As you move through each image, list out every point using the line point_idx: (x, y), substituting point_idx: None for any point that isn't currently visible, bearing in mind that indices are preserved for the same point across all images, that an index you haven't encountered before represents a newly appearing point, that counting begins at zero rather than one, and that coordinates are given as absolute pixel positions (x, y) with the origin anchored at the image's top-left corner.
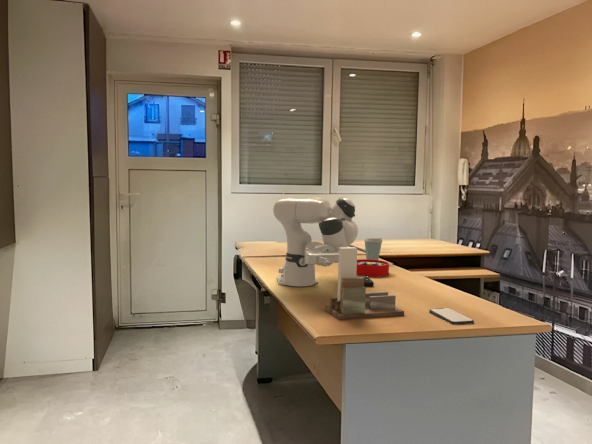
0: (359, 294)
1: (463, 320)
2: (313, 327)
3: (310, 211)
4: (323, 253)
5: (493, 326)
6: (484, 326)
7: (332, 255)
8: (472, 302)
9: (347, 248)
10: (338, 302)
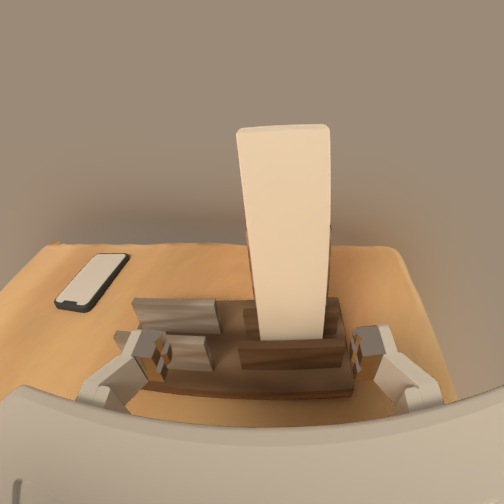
0: None
1: (108, 255)
2: (403, 275)
3: None
4: (367, 495)
5: (94, 246)
6: (103, 247)
7: (260, 430)
8: None
9: (293, 125)
10: (330, 308)
